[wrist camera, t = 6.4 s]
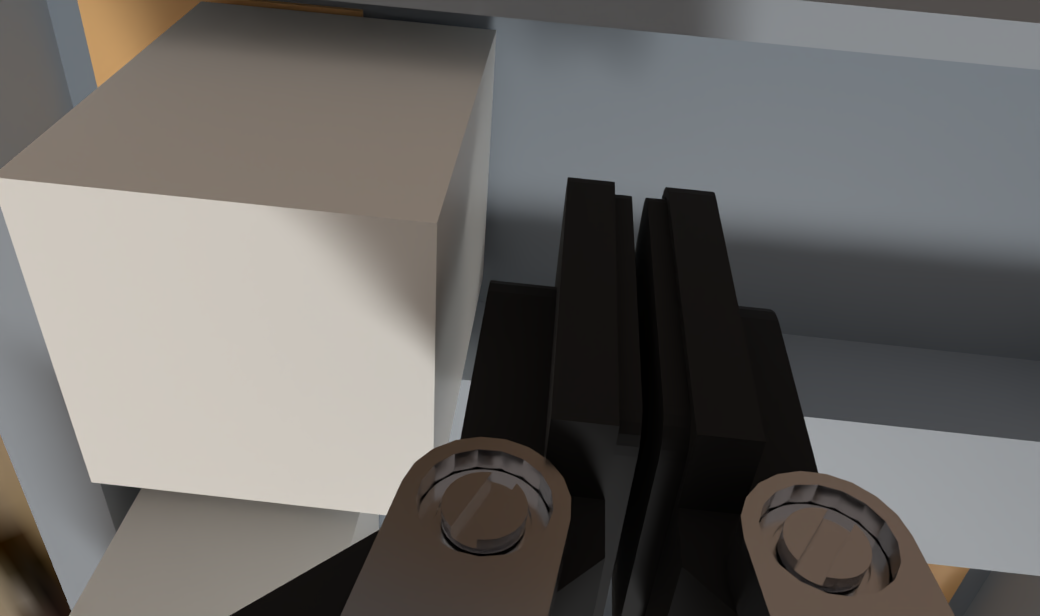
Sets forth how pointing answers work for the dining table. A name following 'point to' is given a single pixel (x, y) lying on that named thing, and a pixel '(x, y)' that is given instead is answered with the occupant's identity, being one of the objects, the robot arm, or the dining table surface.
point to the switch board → (744, 217)
